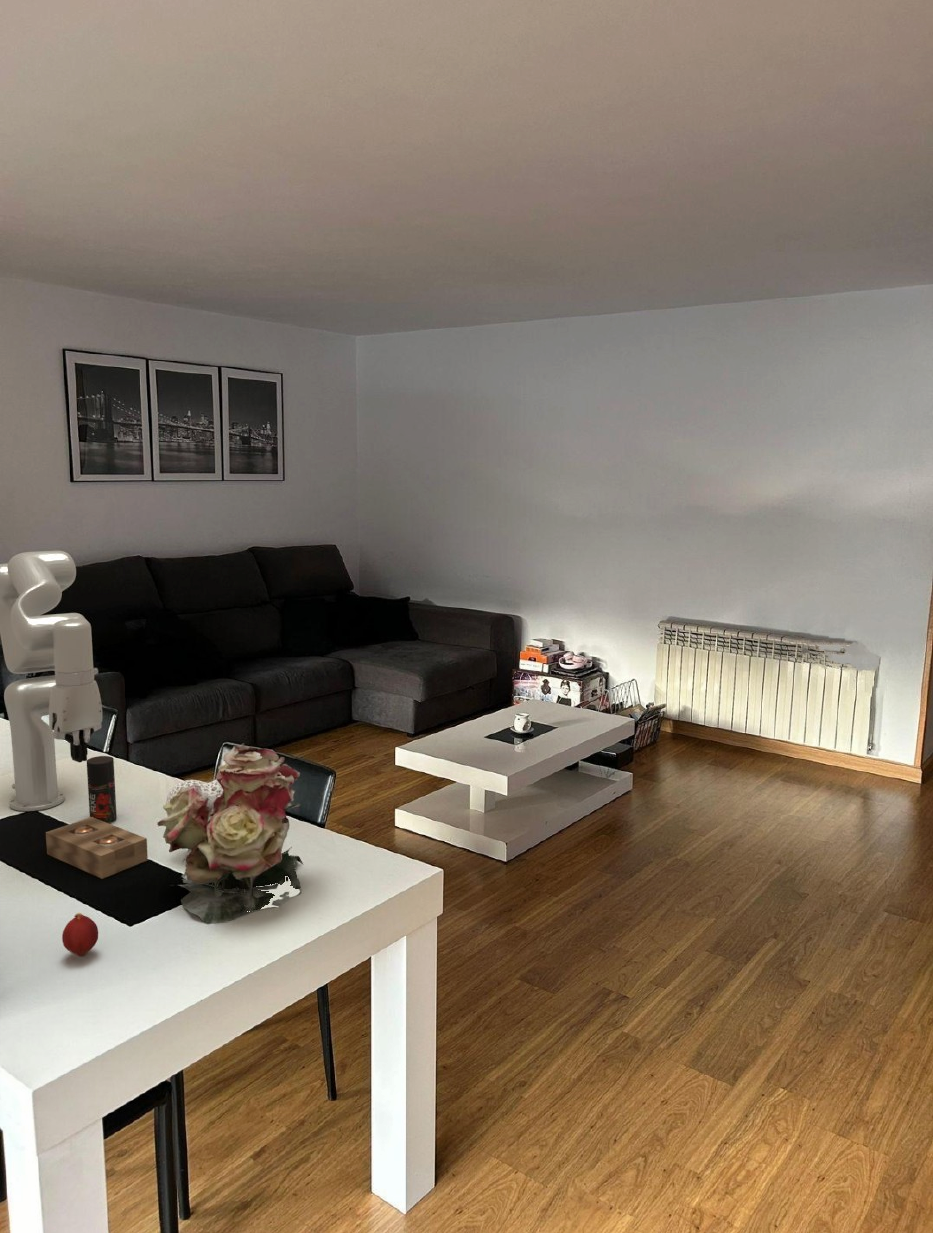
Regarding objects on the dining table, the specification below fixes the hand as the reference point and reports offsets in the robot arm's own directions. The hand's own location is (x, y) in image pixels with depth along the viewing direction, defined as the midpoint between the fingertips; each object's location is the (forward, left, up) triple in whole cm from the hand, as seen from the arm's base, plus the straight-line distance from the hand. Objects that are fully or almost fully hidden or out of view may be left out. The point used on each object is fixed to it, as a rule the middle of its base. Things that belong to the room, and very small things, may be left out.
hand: (79, 760), depth 198 cm
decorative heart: (+23, +16, -21) cm, 35 cm away
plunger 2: (+9, 0, -21) cm, 23 cm away
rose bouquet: (+42, +7, -21) cm, 47 cm away
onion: (+38, -25, -21) cm, 50 cm away
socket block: (+5, 0, -21) cm, 21 cm away
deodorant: (-12, +13, -21) cm, 28 cm away
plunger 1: (0, 0, -21) cm, 21 cm away
